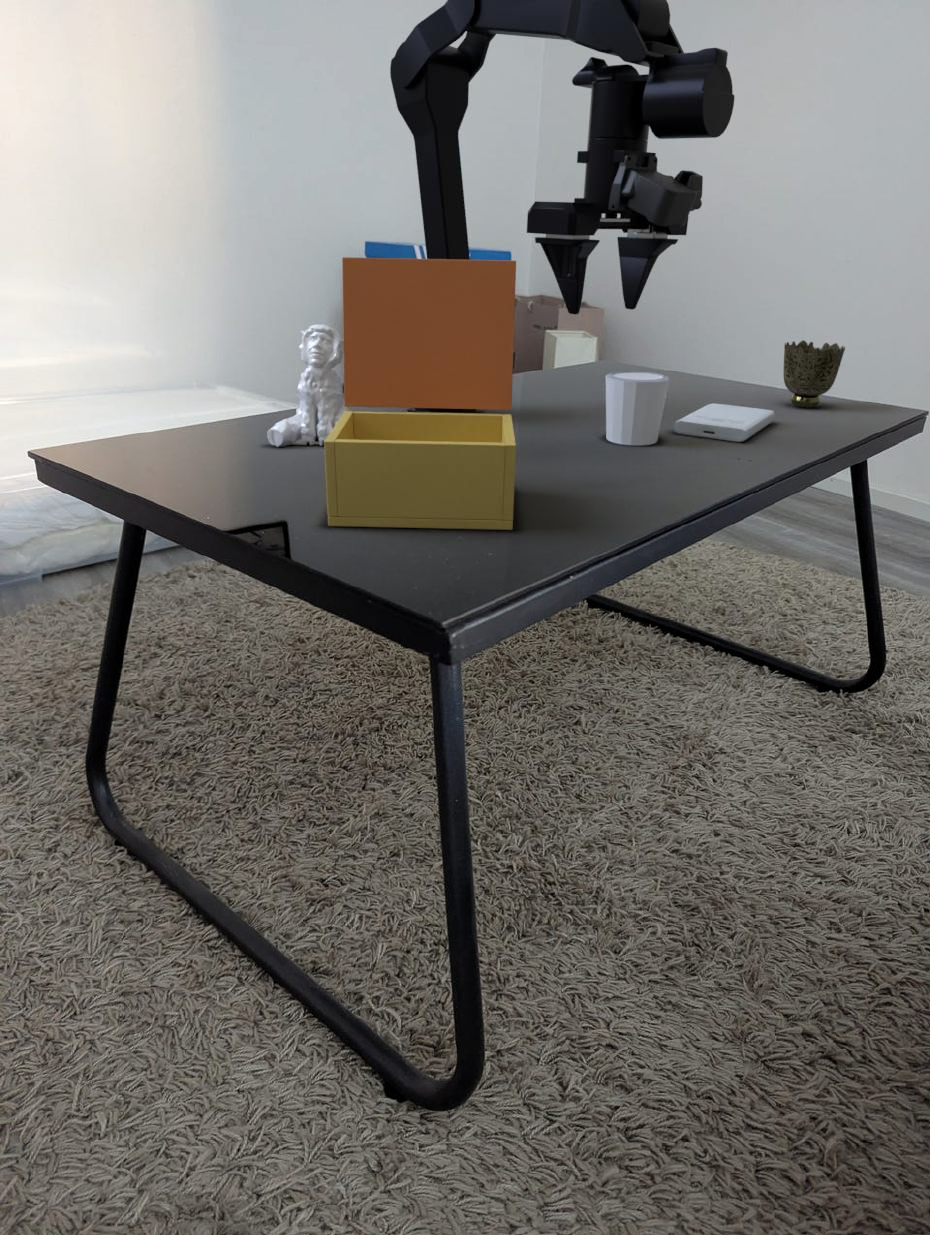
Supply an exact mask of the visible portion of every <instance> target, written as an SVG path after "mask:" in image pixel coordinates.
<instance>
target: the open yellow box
mask: <svg viewBox="0 0 930 1235" xmlns="http://www.w3.org/2000/svg"><path fill="white" fill-rule="evenodd" d="M513 423H514V422H513V417H512V414H511V413H485V412H484V413H483V412H482V413H481V412H480V413H477V412H476V413H475V412H471V413H436V412H408V411H386V410H385V411H384V410H383V411H381V410H380V411H378V410H349V411H345V412H344V413H343V415H342V416H341V418H340V419H339V421H338V422H337V424H336V425H335V427H334V428H333V429H332V431H331V432H330V434H329V435H328V437H327V438H326V440H325V441H324V444H323V447H324V448H323V449H324V465H325V467H324V468H325V488H326V506H327V508H326V509H327V525H328V527H350V528H353V527H354V528H355V527H356V528H362V527H363V528H396V529H397V528H400V529H405V528H406V529H407V528H408V529H444V530H445V529H447V530H496V531H497V530H498V531H512V530H513V529H514V528H513V527H514V521H513V520H514V508H515V507H514V504H515V483H516V482H515V480H516V458H517V457H516V455H517V443H516V436H515V430H514V424H513Z"/></svg>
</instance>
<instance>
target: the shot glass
mask: <svg viewBox="0 0 930 1235" xmlns="http://www.w3.org/2000/svg"><path fill="white" fill-rule="evenodd" d="M670 381H671V379H670V377H669V376H667V375H665V374H660V373H655V372H649V371H637V370H634V371H633V370H626V371H614V372H609V373H607V374H606V375H605V436H606V440H607V441H608V442H611V443H613V444H616V445H617V444H618V445H622V446H623V445H625V446H650V445H653V444H654V445H655V444H656V443H658V440H659V436H660V435H659V434H660V429H661V424H662V419H663V414H664V409H665V405H666V404H665V403H666V399H667V394H668V389H669V385H670Z"/></svg>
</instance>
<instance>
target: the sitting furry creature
mask: <svg viewBox="0 0 930 1235" xmlns="http://www.w3.org/2000/svg"><path fill="white" fill-rule="evenodd" d="M299 333H300V335H301V336H302V337H301V343H300V344H299V346H298V350H299V351H300V355H301V357H300V360H301V361H302V362H303V363H304V364H305V365H306V368H305V370H304V371H303V372H302V373H300V380H299V381H298V385H297V389H296V394H297V397H298V399H299V406H298V407H297V408H296V409H295V415H293V416H290V417H288V418H284V419H282V420H279V421H277V422H275V424H274V425H273V426H271V428H268V430H267V432H266V438H267V440H268V442H269V444H270V445H272V446H275V447H276V448H281V447H286V446H290V445H295V446H297V445H300V446H301V445H303V446H307V444H309V446H314V445H319V446H321V447H323V446H324V441H325V440H326V438H327V437H328V435H329V434H330V432H331V431H332V429H333V428H334V427H335V425H336V424H337V422H338V421H339V419H340V418H341V416H342V415H343V413H344V412H345V411H350V409H349V407H345V406H344V386H343V383H342V382H341V378H340V376H338V372H337V370H335V369H334V368H335V367H337V365H340V364H342V359H343V358H344V343H343V338H341V336H340V334H339V332H338V331H337V330H336V329H335V328H332V327H330V326H329V325H326V324H325V323H321V324H318V323H316V324H313V325H310V326H309V327H308V328H307V329H305V330H300V332H299ZM316 440H318V441H316Z"/></svg>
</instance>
